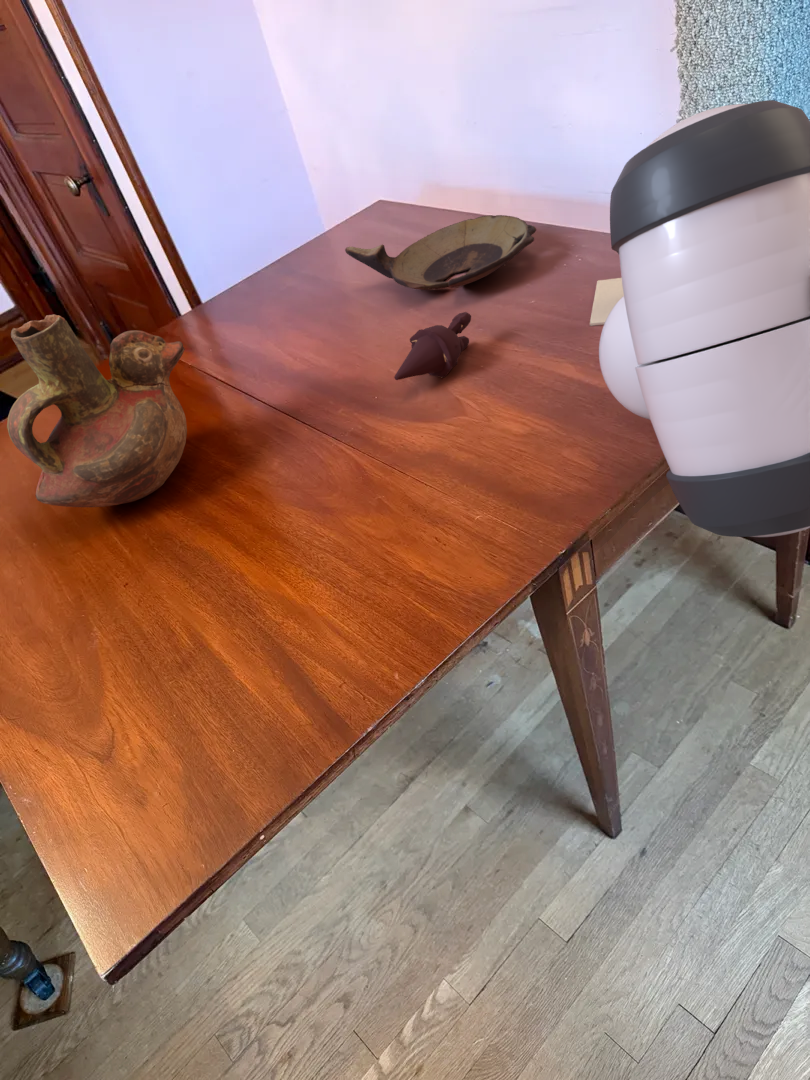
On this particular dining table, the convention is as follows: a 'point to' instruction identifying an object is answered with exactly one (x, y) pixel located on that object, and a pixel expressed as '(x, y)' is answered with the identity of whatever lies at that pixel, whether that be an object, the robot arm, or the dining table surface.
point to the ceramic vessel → (99, 415)
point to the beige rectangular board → (605, 299)
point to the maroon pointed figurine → (435, 349)
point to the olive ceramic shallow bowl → (452, 252)
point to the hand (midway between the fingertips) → (732, 225)
